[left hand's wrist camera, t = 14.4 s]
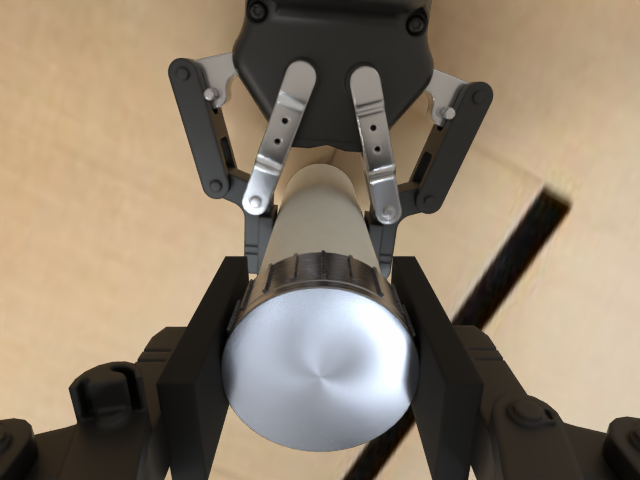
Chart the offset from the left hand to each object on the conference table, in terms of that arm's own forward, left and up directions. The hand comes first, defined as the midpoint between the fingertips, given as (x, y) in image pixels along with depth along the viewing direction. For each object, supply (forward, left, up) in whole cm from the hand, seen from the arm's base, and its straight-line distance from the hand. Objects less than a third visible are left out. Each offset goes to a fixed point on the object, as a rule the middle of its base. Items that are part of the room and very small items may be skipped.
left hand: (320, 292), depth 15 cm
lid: (0, 0, +4) cm, 4 cm away
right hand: (-2, +1, -6) cm, 7 cm away
